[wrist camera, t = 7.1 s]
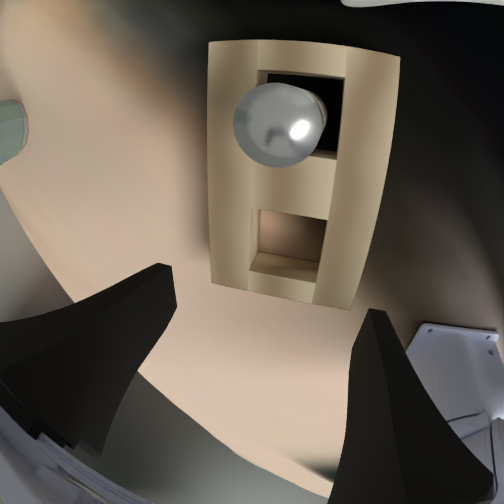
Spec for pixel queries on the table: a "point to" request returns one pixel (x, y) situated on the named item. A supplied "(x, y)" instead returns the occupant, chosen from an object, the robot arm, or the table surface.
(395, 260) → the table surface
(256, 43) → the socket block
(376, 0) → the cable organizer
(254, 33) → the table surface
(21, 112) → the disposable coffee cup
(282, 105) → the pin
